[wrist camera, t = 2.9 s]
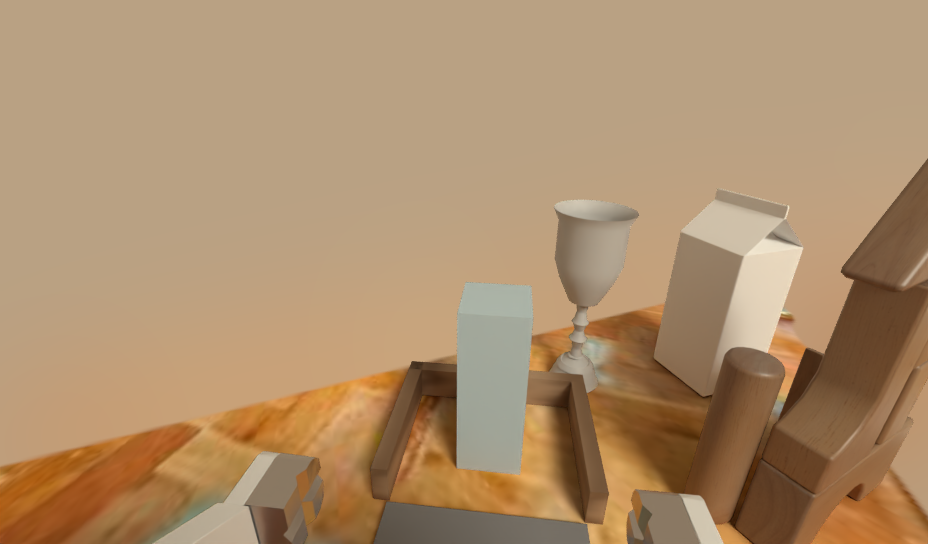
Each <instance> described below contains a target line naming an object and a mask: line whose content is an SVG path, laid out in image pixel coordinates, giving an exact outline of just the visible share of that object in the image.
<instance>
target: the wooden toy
mask: <svg viewBox="0 0 928 544" xmlns="http://www.w3.org/2000/svg"><path fill="white" fill-rule="evenodd" d="M841 273H843V275H844V276H845V277H846V278H850V279H853V280H854V282H853V284H852V287H851V289H850V292H849V294H848V297H847V299H846V301H845V304H844V306H843V309H842V311H841V314H840V316H839V319H838V321H837V324H836V326H835V329H834V331H833V334H832V336H831V339H830V342H829V344H828V346H827V349H826V351H825V354H822V353H820V352H818V351H816V350H813V349H811V348H806V349H805V352H804V354H803V357H802V359H801V362H800V365H799V367H798V370H797V372H796V375H795V378H794V380H793V383H792V385H791V388H790V391H789V393H788V396H787V398H786V401H785V404H784V406H783V409H782V412H781V414H780V417H779V419H778V422H776V423H775V424H774V425H773V428H772V430H771V433H770V436H769V438H768V441H767V443H766V446H765V449H764V451H763V454H762V459H760V460H759V463H758V466H757V468H756V471H755V474H754V476H753V479H752V481H751V484H750V487H749V489H748V492H747V494H746V497H745V500H744V502H743V505H742V508H741V510H740V513H739V516H738V518H737V521H736V524H735V527H736V529H737V530H738V531H739V532H741V533H742V534H743V535H744V536H745V537H747V538H748V539H749V540H750V541H751V542H752V543H754V544H810V543H812V541H813V539H814V538H815V536H816V534H817V532H818V531H819V529H820V528H821V526H822V525H823V523H824V522H825V521H826V519H827V518H828V516H829V515H830V513H831V512H832V511H833V510H834V509H835V507H836V506H837V505H838V504H839V503H840V501H841V500H842V499H843V498H844V497H845V496H846V495H848V496H850V497H851V498H853V499H855V500H857V501H860V500H862V499H863V498H864V497H865V496H866V495H867V494H868V493H870V492H871V491H872V490H873V489H874V488H875V487H877V486H878V485H879V484H880V483H881V482H882V480H883V478H884V476H885V474H886V473H887V471H888V469H889V467H890V465H891V463H892V462H893V460H894V458H895V456H896V454H897V452H898V450H899V449H900V447H901V445H902V443H903V441H904V439H905V438H906V436H907V434H908V432H909V430H910V428H911V427H912V425H913V419H911V418H910V417H908V415H909V413H910V411H911V409H912V407H913V405H914V404H915V402H916V400H917V398H918V396H919V394H920V392H921V391H922V389H923V387H924V385H925V383H926V381H927V379H928V159H927V160H926V162H925V163H924V164H923V165H922V167H921V168H920V169H919V171H918V172H917V173H916V174H915V176H914V177H913V178H912V180H911V181H910V182H909V183H908V185H907V186H906V187H905V188H904V190H903V191H902V192H901V193H900V195H899V196H898V197H897V199H896V200H895V201H894V202H893V203H892V205H891V206H890V207H889V209H888V210H887V211H886V212H885V214H884V215H883V216H882V218H881V219H880V220H879V221H878V223H877V224H876V225H875V226H874V228H873V229H872V230H871V231H870V233H869V234H868V235H867V237H866V238H865V239H864V240H863V242H862V243H861V244H860V245H859V247H858V248H857V249H856V251H855V252H854V253H853V254H852V255H851V257H850V258H849V259H848V261H847V262H846V263H845V264H844V266H843V267H842V270H841ZM784 377H785V368H784V366H783V364H782V363H781V362H780V361H779V360H778V359H777V358H775V357H773V356H772V355H770V354H768V353H765V352H763V351H760V350H757V349H753V348H748V347H735V348H731V349H730V350H728V351H727V352H726V353H725V355H724V359H723V362H722V365H721V369H720V372H719V375H718V379H717V382H716V385H715V389H714V392H713V396H712V399H711V402H710V406H709V409H708V412H707V416H706V419H705V422H704V426H703V429H702V432H701V436H700V439H699V443H698V446H697V449H696V453H695V456H694V459H693V463H692V466H691V469H690V473H689V476H688V480H687V483H686V486H685V490H684V494H689V495H699V496H701V497H702V498H703V499H704V501H705V503H706V506H707V508H708V510H709V512H710V515H711V517H712V519H713V521H714V523H715V524H724V523H726V522H728V521H730V519H731V518H732V517H733V514H734V511H735V509H736V506H737V503H738V501H739V498H740V495H741V493H742V490H743V487H744V485H745V482H746V479H747V476H748V474H749V471H750V468H751V466H752V463H753V460H754V458H755V455H756V452H757V450H758V447H759V444H760V442H761V439H762V436H763V433H764V431H765V428H766V425H767V423H768V420H769V417H770V415H771V412H772V409H773V407H774V404H775V401H776V399H777V396H778V393H779V390H780V388H781V385H782V382H783V380H784Z"/></svg>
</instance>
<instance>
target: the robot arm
mask: <svg viewBox="0 0 928 544" xmlns="http://www.w3.org/2000/svg"><path fill="white" fill-rule="evenodd" d="M320 468H321V467H320V462H319V458H315V457H308V456H300V455H293V454H285V453H275V452H267V451H263V452H262V453H260V454H259V455H258V456H257V457H256V458H255V460H254V461H253V462H252V464H251V465H250V466H249V468H248V469H247V471H246V472H245V473H244V475H243V476H242V477H241V479H240V480H239V482H238V483H237V484H236V486H235V487H234V489H233V490H232V491H231V493H230V494H229V495H228V497H227V498H226V500H225V501H224V502H223V503H216V504H215V505H213V506H211V507H210V508H208V509H207V510H205V511H203V512H202V513H200V514H199V515H197V516H195V517H194V518H192V519H191V520H189V521H187V522H186V523H184V524H183V525H181V526H179V527H178V528H176V529H175V530H173V531H171V532H170V533H168V534H167V535H165V536H163V537H162V538H160V539H159V540H157V541H155V542H154V543H152V544H304V542H305V540H306V538H307V536H308V533H307V528H306V526H307V525H308V524H309V523H311V522H312V521H313V520H315V519H316V517H317V515H318V512H319V510H320V508H321V504H322V500H323V496H324V484H323V480H322V479H321V478H320V477H319V476H318V475H317V474H318V472H319V470H320ZM631 501H632V505H633V510H632V511H630V512H629V513H628V518H627V541H628V544H724V543H723V541H722V539H721V537H720V534H719V532H718V530H717V528H716V526H715V523H714V521H713V519H712V517H711V515H710V512H709V510H708V508H707V506H706V503H705V501H704V499H703V498H702V497H701V496H699V495H689V494H676V493H671V492H659V491H648V490H637V489H635V491H634V492H633V495H632V499H631Z"/></svg>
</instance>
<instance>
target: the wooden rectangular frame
mask: <svg viewBox="0 0 928 544" xmlns="http://www.w3.org/2000/svg"><path fill="white" fill-rule="evenodd" d="M422 395H430V396H441V397H453V398H457V365H453V364H441V363H428V362H415V361H412V362H411V365H410V368H409V370H408V373H407V375H406V378H405V380H404V383H403V386H402V388H401V391H400V393H399V396H398V398H397V401H396V403H395V406H394V409H393V411H392V414H391V416H390V419H389V421H388V424H387V427H386V429H385V432H384V434H383V437H382V439H381V442H380V445H379V447H378V450H377V452H376V455H375V457H374V460H373V462H372V465H371V468H370V471H371V481H372V491H373V498H374V499H382V500H390V496H391V493H392V490H393V487H394V484H395V480H396V477H397V474H398V471H399V468H400V464H401V461H402V458H403V455H404V452H405V449H406V445H407V442H408V439H409V436H410V433H411V429H412V426H413V423H414V420H415V417H416V414H417V410H418V407H419V404H420V401H421V398H422ZM526 404H534V405H545V406H557V407H568V413H569V420H570V426H571V433H572V440H573V446H574V453H575V460H576V466H577V473H578V479H579V486H580V493H581V499H582V506H583V513H584V519H585V522H586V523H594V524H603V520H604V515H605V510H606V505H607V500H608V495H609V492H608V488H607V483H606V478H605V474H604V469H603V465H602V460H601V456H600V451H599V447H598V442H597V438H596V433H595V428H594V424H593V419H592V415H591V410H590V406H589V401H588V397H587V392H586V388H585V383H584V378H583V375H581V374H568V373H555V372H542V371H530V370H529V374H528V386H527V397H526Z"/></svg>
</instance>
